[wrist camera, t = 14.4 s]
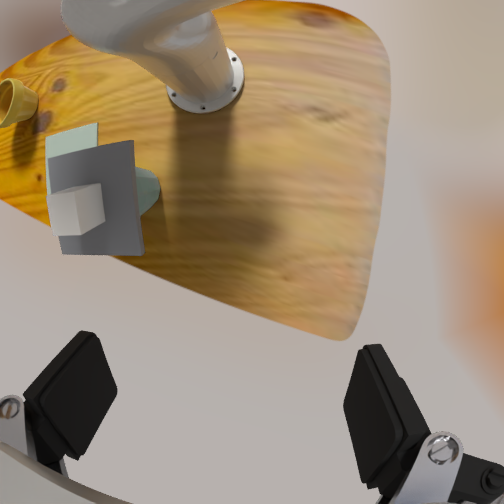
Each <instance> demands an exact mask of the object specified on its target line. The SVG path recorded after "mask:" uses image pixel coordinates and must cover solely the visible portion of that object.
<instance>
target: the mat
mask: <svg viewBox="0 0 504 504" xmlns="http://www.w3.org/2000/svg"><path fill="white" fill-rule="evenodd" d="M96 146H98V123H93V124H89V125H85V126H82V127H78V128H74V129H71V130H67V131H64V132H61V133H58V134H54V135H51V136H48V137H46V181H47V195H50V194H51V188H50V179H49V169H48V158H52V157H55V156H59V155H63V154H67V153H70V152H75V151H79V150H83V149H87V148H92V147H96Z"/></svg>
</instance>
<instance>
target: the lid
mask: <svg viewBox="0 0 504 504" xmlns="http://www.w3.org/2000/svg"><path fill="white" fill-rule="evenodd" d="M48 169H49V179H50V188H51V194H50V195H48V196H46V198H47V205H48V211H49V217H50V223H51V228H52V233H53V236H59V241H60V245H61V250H62V254H74V255H123V256H142V255H143V254H144V253H145V249H144V242H143V235H142V228H141V220H140V212H139V204H138V194H137V184H136V172H135V157H134V140H128V141H122V142H117V143H111V144H106V145H101V146H96V147H92V148H87V149H83V150H79V151H75V152H70V153H67V154H63V155H59V156H55V157H52V158H48Z"/></svg>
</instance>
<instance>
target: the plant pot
mask: <svg viewBox="0 0 504 504" xmlns="http://www.w3.org/2000/svg"><path fill="white" fill-rule="evenodd" d="M37 106H38V95H37V93H36V92H34V91H33V90H31V89H29V88H27V87H26V86H24V85H23V83H22V82H21V81H20V80H16V79H11V78H8V79H5V80H3V81H2V82H1V83H0V128H5V127H8V126H10V125H11V124H12V123H16V122H20V121H24V120H28V119H30V118H31V117H32V116H33V115H34V113H35V111H36V109H37Z"/></svg>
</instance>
